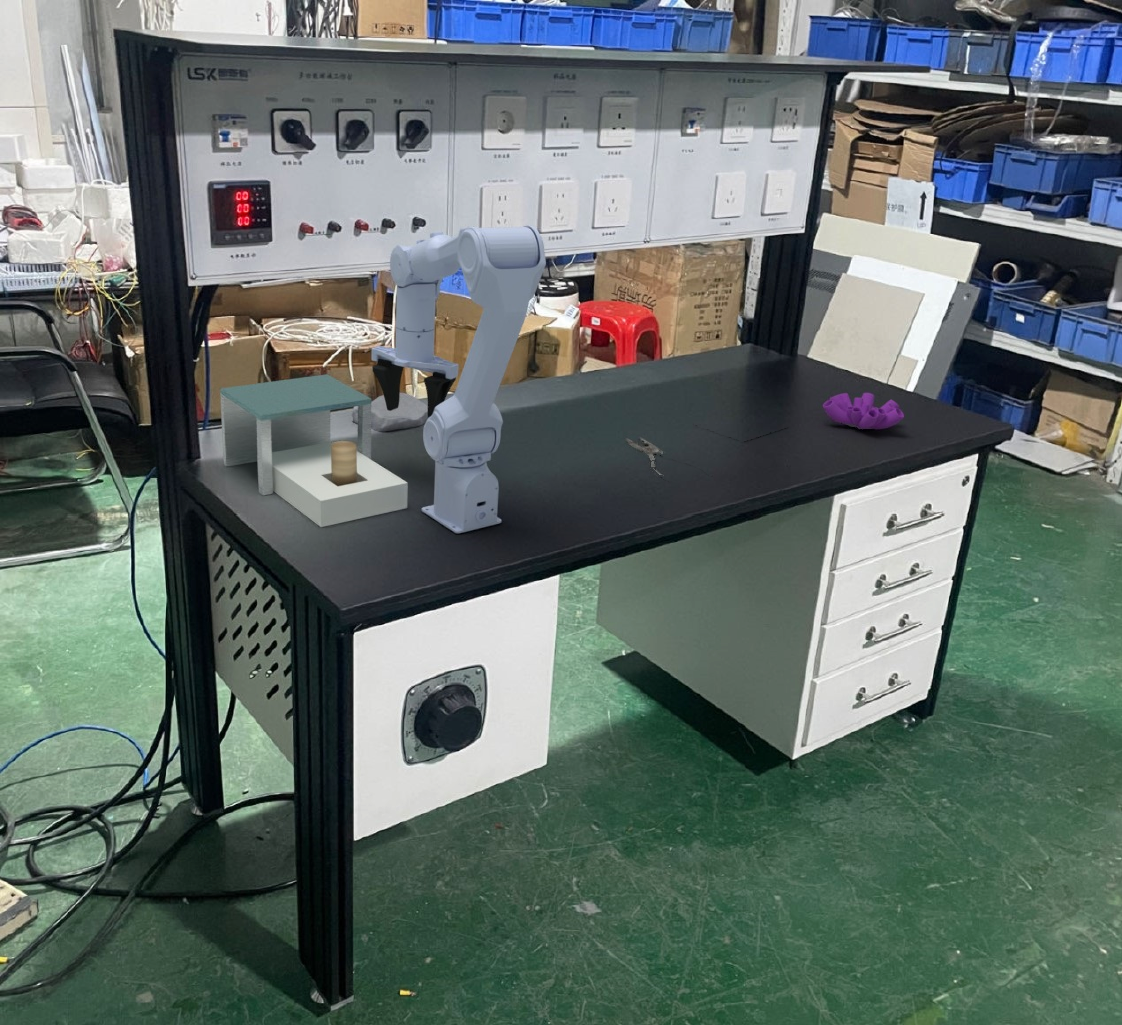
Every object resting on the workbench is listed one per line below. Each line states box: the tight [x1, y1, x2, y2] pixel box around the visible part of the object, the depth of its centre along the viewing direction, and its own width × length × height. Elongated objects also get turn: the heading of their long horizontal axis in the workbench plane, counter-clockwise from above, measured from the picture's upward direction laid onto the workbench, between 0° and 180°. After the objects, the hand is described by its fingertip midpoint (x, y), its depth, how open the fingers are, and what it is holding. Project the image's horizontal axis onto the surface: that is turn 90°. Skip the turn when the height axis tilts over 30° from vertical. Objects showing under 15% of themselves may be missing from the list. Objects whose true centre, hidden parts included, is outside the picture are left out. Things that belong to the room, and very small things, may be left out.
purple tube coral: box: [822, 392, 905, 430], centre depth 214 cm, size 11×15×10 cm
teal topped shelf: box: [219, 373, 372, 496], centre depth 170 cm, size 14×18×12 cm
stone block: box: [351, 392, 428, 432], centre depth 197 cm, size 12×5×10 cm
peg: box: [331, 440, 358, 486], centre depth 160 cm, size 4×4×8 cm
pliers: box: [625, 436, 665, 475], centre depth 189 cm, size 10×1×20 cm
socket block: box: [257, 440, 409, 528], centre depth 164 cm, size 20×14×4 cm
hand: (413, 414), depth 170 cm, fingers open, 7 cm apart
